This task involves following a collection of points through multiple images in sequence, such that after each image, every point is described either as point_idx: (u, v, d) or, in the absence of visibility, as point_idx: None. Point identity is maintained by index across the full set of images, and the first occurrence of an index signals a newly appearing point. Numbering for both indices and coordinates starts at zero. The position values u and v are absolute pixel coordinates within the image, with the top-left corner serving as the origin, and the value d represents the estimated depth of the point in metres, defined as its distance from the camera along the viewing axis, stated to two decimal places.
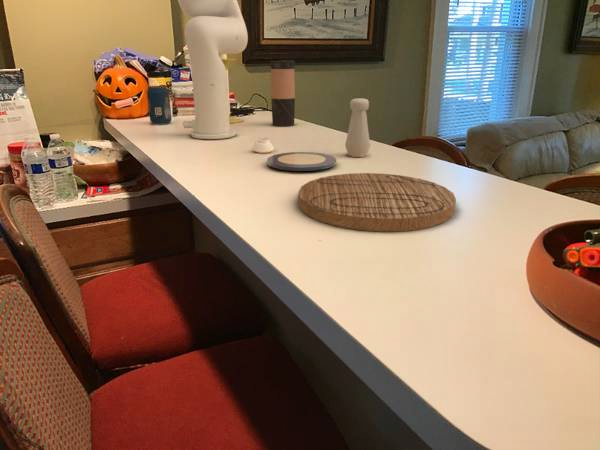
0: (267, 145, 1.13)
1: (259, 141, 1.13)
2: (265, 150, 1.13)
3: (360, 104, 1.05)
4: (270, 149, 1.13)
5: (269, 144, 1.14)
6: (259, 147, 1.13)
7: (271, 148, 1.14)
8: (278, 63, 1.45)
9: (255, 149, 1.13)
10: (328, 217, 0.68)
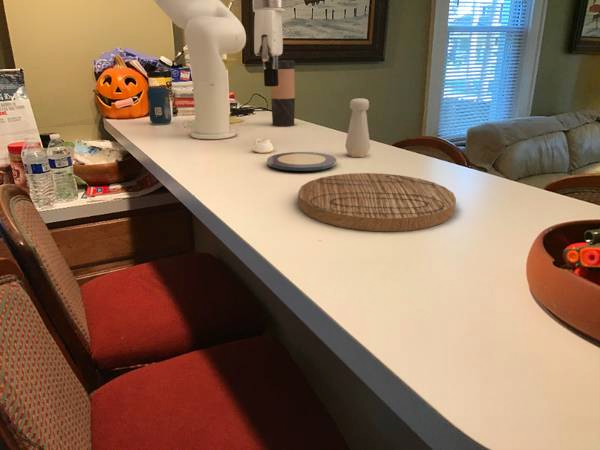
0: (267, 145, 1.13)
1: (259, 141, 1.13)
2: (265, 150, 1.13)
3: (360, 104, 1.05)
4: (270, 149, 1.13)
5: (269, 144, 1.14)
6: (259, 147, 1.13)
7: (271, 148, 1.14)
8: (278, 63, 1.45)
9: (255, 149, 1.13)
10: (328, 217, 0.68)
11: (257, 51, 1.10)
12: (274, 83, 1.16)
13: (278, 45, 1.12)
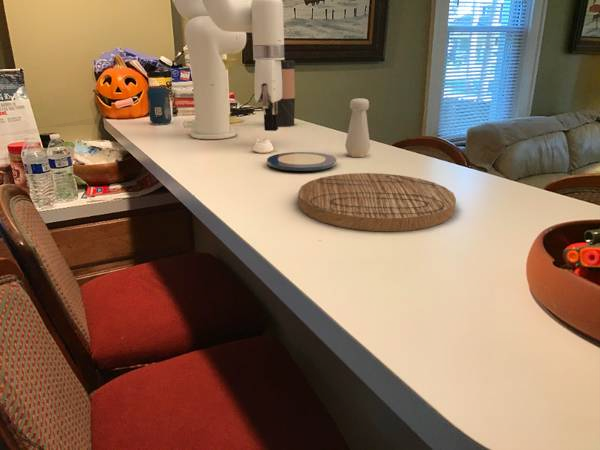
0: (267, 145, 1.13)
1: (259, 141, 1.13)
2: (265, 150, 1.13)
3: (360, 104, 1.05)
4: (270, 149, 1.13)
5: (269, 144, 1.14)
6: (259, 147, 1.13)
7: (271, 148, 1.14)
8: None
9: (255, 149, 1.13)
10: (328, 217, 0.68)
11: (257, 99, 1.13)
12: (274, 128, 1.19)
13: (278, 92, 1.15)
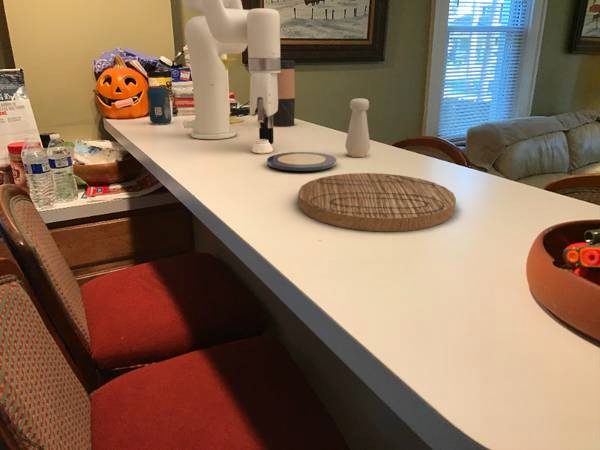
0: (266, 146, 1.12)
1: (258, 142, 1.12)
2: (264, 151, 1.12)
3: (360, 104, 1.05)
4: (269, 150, 1.13)
5: (268, 145, 1.13)
6: (258, 147, 1.12)
7: (270, 149, 1.13)
8: None
9: (254, 150, 1.13)
10: (328, 217, 0.68)
11: (252, 113, 1.10)
12: (269, 141, 1.16)
13: (273, 105, 1.13)
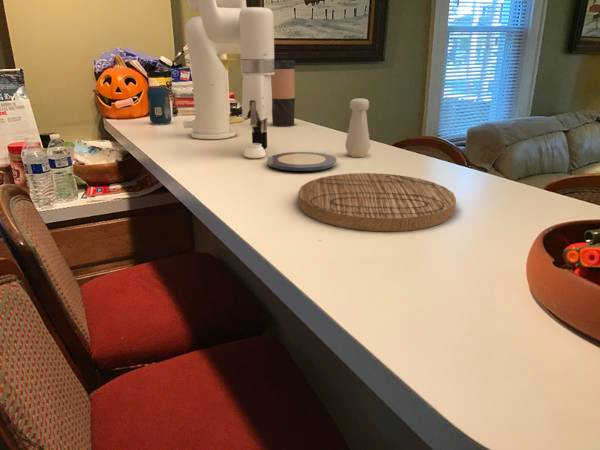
0: (259, 150, 1.07)
1: (250, 146, 1.08)
2: (256, 155, 1.07)
3: (360, 104, 1.05)
4: (262, 154, 1.08)
5: (261, 149, 1.08)
6: (250, 152, 1.07)
7: (263, 153, 1.08)
8: (278, 63, 1.45)
9: (246, 154, 1.08)
10: (328, 217, 0.68)
11: (245, 116, 1.05)
12: (263, 146, 1.11)
13: (267, 109, 1.08)
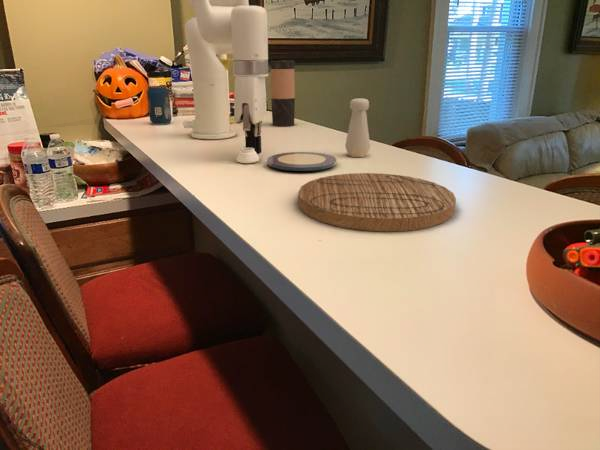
0: (251, 155, 1.03)
1: (243, 151, 1.03)
2: (249, 161, 1.02)
3: (360, 104, 1.05)
4: (255, 159, 1.03)
5: (254, 154, 1.03)
6: (242, 157, 1.03)
7: (256, 158, 1.03)
8: (278, 63, 1.45)
9: (238, 159, 1.03)
10: (328, 217, 0.68)
11: (237, 120, 1.00)
12: (256, 151, 1.06)
13: (261, 112, 1.03)
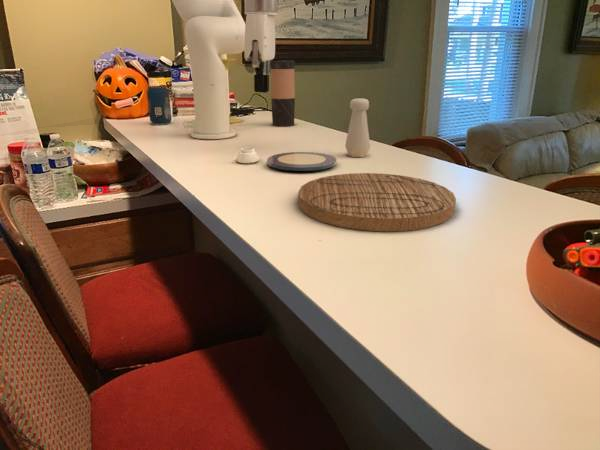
0: (251, 155, 1.03)
1: (242, 151, 1.03)
2: (249, 161, 1.02)
3: (360, 104, 1.05)
4: (254, 159, 1.03)
5: (253, 154, 1.03)
6: (242, 157, 1.03)
7: (256, 158, 1.03)
8: (278, 63, 1.45)
9: (238, 159, 1.03)
10: (328, 217, 0.68)
11: (247, 56, 1.06)
12: (264, 89, 1.12)
13: (270, 50, 1.08)
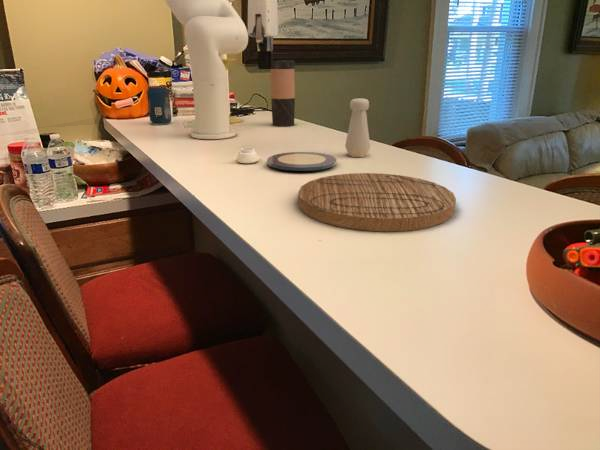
0: (251, 155, 1.03)
1: (242, 151, 1.03)
2: (249, 161, 1.02)
3: (360, 104, 1.05)
4: (254, 159, 1.03)
5: (253, 154, 1.03)
6: (242, 157, 1.03)
7: (256, 158, 1.03)
8: (278, 63, 1.45)
9: (238, 159, 1.03)
10: (328, 217, 0.68)
11: (251, 31, 1.05)
12: (268, 66, 1.11)
13: (273, 26, 1.08)
